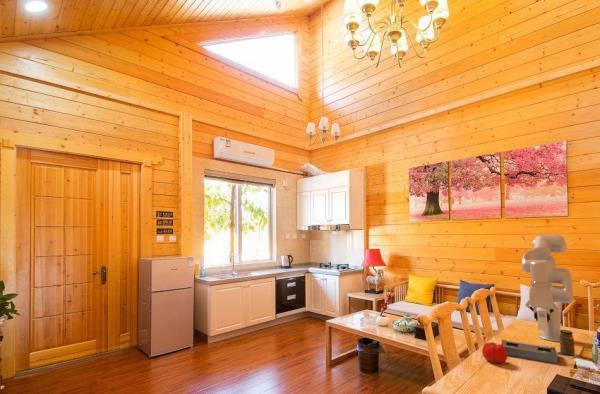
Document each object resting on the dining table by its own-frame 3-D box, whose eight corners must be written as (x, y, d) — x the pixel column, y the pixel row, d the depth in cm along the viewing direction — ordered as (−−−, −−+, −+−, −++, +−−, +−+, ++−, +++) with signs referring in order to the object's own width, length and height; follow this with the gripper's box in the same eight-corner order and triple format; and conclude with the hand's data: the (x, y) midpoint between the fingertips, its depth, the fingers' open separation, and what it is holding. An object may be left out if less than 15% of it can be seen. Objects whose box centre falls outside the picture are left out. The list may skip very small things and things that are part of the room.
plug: (537, 327, 179) (536, 310, 180) (547, 328, 177) (546, 311, 177) (538, 330, 175) (537, 312, 176) (547, 331, 173) (546, 313, 173)
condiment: (578, 355, 178) (576, 331, 180) (572, 358, 174) (570, 334, 175) (561, 350, 184) (560, 328, 186) (555, 354, 180) (553, 330, 181)
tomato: (510, 367, 163) (509, 348, 163) (484, 364, 166) (483, 345, 167) (505, 359, 173) (504, 341, 173) (481, 356, 176) (480, 339, 177)
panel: (502, 346, 191) (502, 338, 191) (555, 355, 178) (555, 346, 178) (501, 354, 179) (500, 345, 180) (557, 364, 166) (557, 355, 166)
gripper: (559, 285, 177) (561, 321, 175) (520, 282, 186) (523, 317, 184) (560, 287, 170) (563, 325, 169) (520, 284, 180) (523, 320, 178)
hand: (542, 320), depth 177 cm, fingers closed on plug, 4 cm apart
